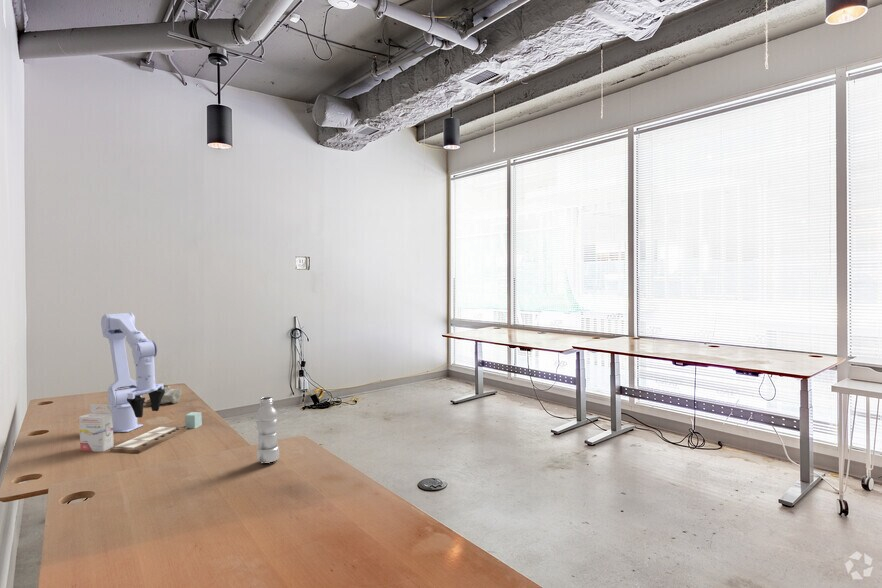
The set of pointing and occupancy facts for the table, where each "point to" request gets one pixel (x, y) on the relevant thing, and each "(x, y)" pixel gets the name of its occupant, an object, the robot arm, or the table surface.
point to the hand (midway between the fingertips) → (147, 413)
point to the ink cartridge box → (96, 429)
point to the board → (148, 439)
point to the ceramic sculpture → (169, 395)
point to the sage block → (193, 420)
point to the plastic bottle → (267, 431)
